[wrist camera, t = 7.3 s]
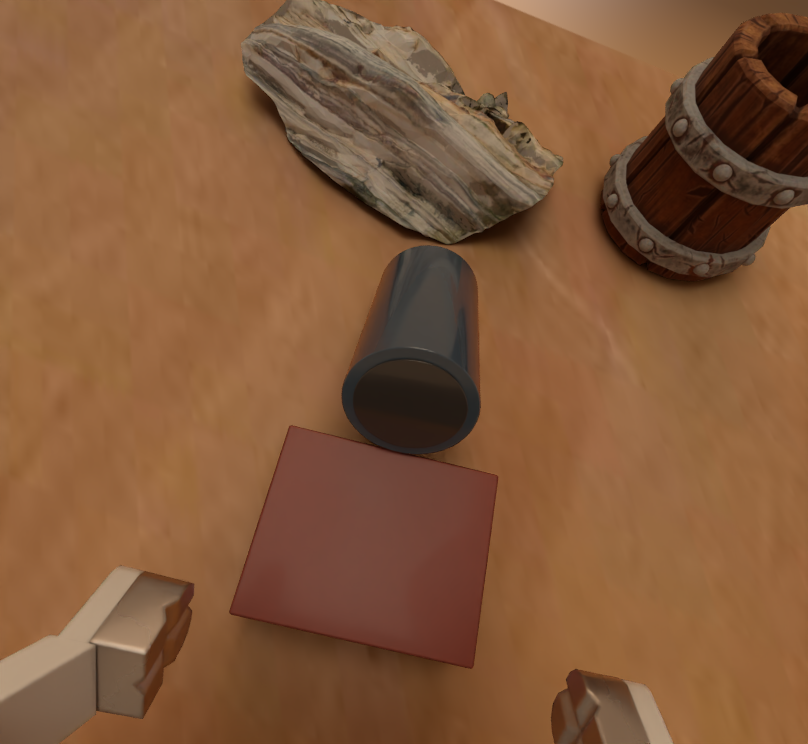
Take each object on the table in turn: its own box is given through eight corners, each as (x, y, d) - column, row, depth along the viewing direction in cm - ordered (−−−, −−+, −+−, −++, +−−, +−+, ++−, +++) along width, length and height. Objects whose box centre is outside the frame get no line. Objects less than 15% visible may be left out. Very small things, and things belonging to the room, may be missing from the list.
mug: (560, 235, 32) (738, -28, 20) (615, 149, 40) (769, -81, 27) (712, 326, 31) (1007, 107, 18) (739, 219, 39) (960, 12, 26)
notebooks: (450, 653, 22) (477, 676, 18) (244, 607, 22) (220, 619, 17) (475, 486, 25) (503, 471, 21) (295, 443, 25) (286, 419, 21)
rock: (453, 302, 33) (567, 170, 37) (488, 262, 26) (623, 105, 30) (204, 86, 33) (345, -25, 36) (174, -12, 26) (351, -135, 30)
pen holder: (461, 343, 28) (457, 468, 20) (372, 321, 28) (332, 438, 20) (491, 259, 25) (500, 370, 17) (390, 233, 25) (351, 332, 17)
